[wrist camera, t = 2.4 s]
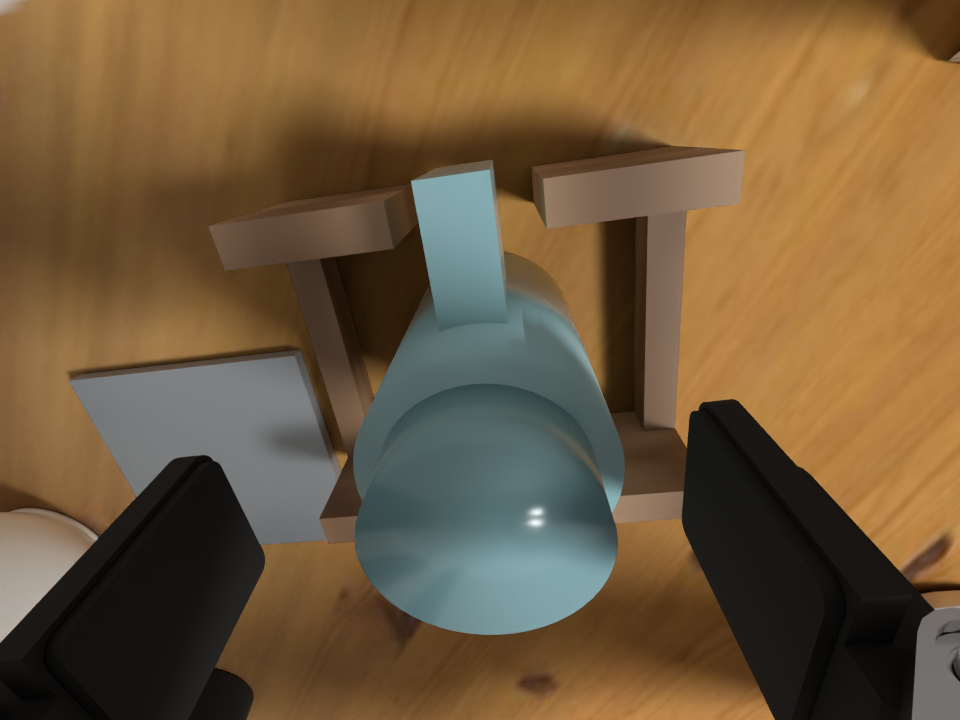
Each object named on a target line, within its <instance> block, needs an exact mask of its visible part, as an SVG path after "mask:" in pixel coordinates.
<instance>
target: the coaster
mask: <svg viewBox="0 0 960 720" xmlns="http://www.w3.org/2000/svg"><path fill="white" fill-rule="evenodd" d="M69 383H70V384H71V386H72V388H73V389H74V391H75V393H76V395H77V396H78V398H79V400H80V401H81V403H82V405H83V406H84V408H85V410H86V412H87V413H88V415H89V417H90V418H91V420H92V422H93V423H94V425H95V427H96V429H97V430H98V432H99V434H100V435H101V437H102V439H103V440H104V442H105V444H106V446H107V447H108V449H109V451H110V452H111V454H112V456H113V457H114V459H115V461H116V463H117V464H118V466H119V468H120V469H121V471H122V473H123V475H124V476H125V478H126V480H127V481H128V483H129V485H130V486H131V488H132V490H133V492H134V493H135V495H136V497H138V495H139V494H140V493H141V492H142V491H143V490H144V489H145V488H146V487H147V486H148V485H149V484H150V483H151V482H152V481H153V479H154V478H155V477H156V476H157V475H158V474H159V473H160V472H161V471H162V470H163V469H164V468H165V467H166V466H167V465H168V463H169V462H171V461H172V460H173V459H175V458H179V457H188V456H198V455H207V456H209V457H211V458H212V459H213V461H216V462H218V463H219V464H220V465H221V467H222V469H223V471H224V473H225V475H226V477H227V479H228V481H229V483H230V485H231V487H232V489H233V491H234V493H235V495H236V497H237V499H238V501H239V503H240V505H241V507H242V509H243V511H244V513H245V515H246V517H247V519H248V521H249V523H250V525H251V527H252V529H253V531H254V533H255V535H256V537H257V539H258V542H259V544H260V545H265V544H279V543H293V542H307V541H321V540H327V539H326V536H325V533H324V531H323V528H322V525H321V523H320V520H319V518H320V516H321V514H322V512H323V510H324V507H325V505H326V503H327V501H328V499H329V497H330V495H331V493H332V491H333V488H334V486H335V484H336V482H337V480H338V478H339V476H340V474H341V470H340V467H339V464H338V461H337V458H336V455H335V452H334V449H333V446H332V443H331V440H330V437H329V434H328V431H327V428H326V425H325V422H324V419H323V416H322V413H321V410H320V407H319V404H318V401H317V398H316V395H315V392H314V389H313V386H312V382H311V379H310V376H309V373H308V370H307V367H306V364H305V361H304V358H303V355H302V352H301V350H292V351H283V352H274V353H265V354H256V355H248V356H239V357H230V358H221V359H212V360H203V361H194V362H185V363H176V364H167V365H158V366H150V367H141V368H132V369H123V370H114V371H105V372H96V373H87V374H80V375H78V376H76V377H74V378H73V379H71V380H69Z"/></svg>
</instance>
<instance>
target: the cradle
mask: <svg viewBox="0 0 960 720" xmlns="http://www.w3.org/2000/svg"><path fill="white" fill-rule="evenodd" d="M744 157H745V150H732V149H715V148H698V147H681V146H670V147H663V148H656V149H649V150H642V151H635V152H628V153H621V154H614V155H607V156H600V157H593V158H586V159H579V160H572V161H566V162H559V163H552V164H545V165H538V166H531V174H532V187H533V199H534V204H535V206H536V208H537V210H538V212H539V214H540V216H541V218H542V220H543V222H544V224H545V226H546V228H547V229H550V228H558V227H565V226H573V225H581V224H588V223H596V222H603V221H611V220H619V219H626V218H634V217H636V219H635V343H634V411H629V412H618V413H610V414H611V417H612V419H613V422H614V424H615V427H616V429H617V432H618V434H619V437H620V440H621V444H622V448H623V452H624V461H625V473H624V483H623V487H622V491H621V495H620V497H619V500H618V502H617V504H616V507H615V509H614V510H613V512H612V515H613V519H614V522H615V523H625V522H640V521H654V520H668V519H682V506H683V493H684V481H685V469H686V456H687V448H686V446H685V445H684V443H683V441H682V440H681V438H680V436H679V435H678V433H677V431H676V430H675V416H676V397H677V379H678V360H679V341H680V322H681V304H682V285H683V266H684V248H685V229H686V211H688V210H695V209H703V208H710V207H718V206H726V205H733V204H740V197H741V187H742V177H743V167H744ZM418 222H419V221H418V216H417V211H416V205H415V200H414V195H413V189H412V184H406V185H399V186H392V187H385V188H378V189H371V190H364V191H357V192H350V193H343V194H336V195H329V196H322V197H315V198H308V199H301V200H294V201H288V202H284V203H281V204H278V205H275V206H271V207H268V208H265V209H262V210H258V211H255V212H252V213H249V214H245V215H242V216H239V217H236V218H232V219H229V220H226V221H223V222H220V223H216V224H213V225H210V226H208V227H209V230H210V232H211V235H212V238H213V240H214V243H215V246H216V248H217V251H218V253H219V256H220V259H221V261H222V264H223V267H224V269H225V271H229V270H237V269H244V268H252V267H260V266H267V265H275V264H283V263H286V264H287V267H288V270H289V273H290V276H291V280H292V283H293V286H294V289H295V292H296V295H297V298H298V301H299V305H300V308H301V311H302V314H303V317H304V320H305V323H306V327H307V330H308V333H309V336H310V339H311V342H312V345H313V349H314V352H315V355H316V358H317V361H318V364H319V367H320V370H321V374H322V377H323V380H324V383H325V386H326V389H327V392H328V396H329V399H330V402H331V405H332V408H333V411H334V414H335V418H336V421H337V424H338V427H339V430H340V433H341V436H342V440H343V443H344V446H345V449H346V452H347V455H348V459H347V461H346V463H345V465H344V467H343V469H342V471H341V474H340V476H339V478H338V480H337V482H336V484H335V486H334V488H333V491H332V493H331V495H330V497H329V499H328V501H327V503H326V505H325V507H324V510H323V512H322V514H321V516H320V518H319V520H320V523H321V525H322V528H323V531H324V533H325V536H326V539H327V541H328V544H329V543H343V542H355V536H354V534H355V524H356V519H357V516H358V512H359V509H360V506H361V504H362V500H361V497H360V495H359V492H358V490H357V486H356V482H355V478H354V469H353V455H354V446H355V442H356V439H357V435H358V432H359V430H360V427H361V425H362V423H363V421H364V418H365V416H366V414H367V412H368V410H369V408H370V406H371V404H372V402H373V400H374V396H373V393H372V389H371V385H370V381H369V378H368V374H367V370H366V367H365V363H364V359H363V356H362V352H361V348H360V345H359V341H358V337H357V333H356V330H355V326H354V322H353V319H352V315H351V311H350V308H349V304H348V300H347V297H346V293H345V289H344V285H343V282H342V278H341V274H340V271H339V267H338V263H337V260H336V256H344V255H351V254H359V253H367V252H374V251H382V250H390V249H394V248H395V247H396V246H397V245H398V244H399V243H400V242H401V241H402V239H403V238H404V237H405V236H406V235H407V234H408V233H409V232H410V231H411V230H412V229H413V228H414V227H415V226H416V225H417V224H418Z"/></svg>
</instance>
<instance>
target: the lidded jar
mask: <svg viewBox="0 0 960 720" xmlns="http://www.w3.org/2000/svg"><path fill="white" fill-rule="evenodd" d="M98 538H99V537H98V536H97V535H96V534H95V533H94V532H93V531H92V530H90V529H89V528H88V527H86V526H85V525H83V524H82V523H80V522H78V521H76V520H74V519H73V518H70V517H68V516H66V515H63V514H61V513H57V512H54V511H50V510H46V509H40V508H21V509H15V510H12V511H9V512H0V643H1V641H2V640H3V639H4V638H5V637H6V636H7V635H8V634H9V633H10V632H11V631H12V630H13V629H14V628H15V627H16V625H17V624H18V623H19V622H20V621H21V620H22V619H23V618H24V617H25V616H26V615H27V614H28V613H29V612H30V611H31V610H32V608H33V607H34V606H35V605H36V604H37V603H38V602H39V601H40V600H41V599H42V598H43V597H44V596H45V595H46V594H47V592H48V591H49V590H50V589H51V588H52V587H53V586H54V585H55V584H56V583H57V582H58V581H59V580H60V579H61V578H62V576H63V575H64V574H65V573H66V572H67V571H68V570H69V569H70V568H71V567H72V566H73V565H74V564H75V563H76V562H77V560H78V559H79V558H80V557H81V556H82V555H83V554H84V553H85V552H86V551H87V550H88V549H89V548H90V547H91V546H92V544H93V543H94V542H95V541H96V540H97V539H98Z"/></svg>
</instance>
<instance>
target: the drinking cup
mask: <svg viewBox="0 0 960 720" xmlns="http://www.w3.org/2000/svg"><path fill="white" fill-rule="evenodd" d="M252 702H253V692H252V690H251V688H250V687H249V686H248V685H247V684H246V683H245V682H244V681H243V680H241V679H240V678H238V677H237V676H235V675H233V674H230V673H228V672H225V671H221V670H217V669H213V671H212V673H211V675H210V677H209V679H208V681H207V683H206V685H205V687H204V689H203V691H202V693H201V695H200V697H199V699H198V701H197V703H196V705H195V707H194V709H193V711H192V713H191V715H190V717H189V719H188V720H246V719H247V716H248V713H249V711H250V708H251V705H252Z"/></svg>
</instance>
